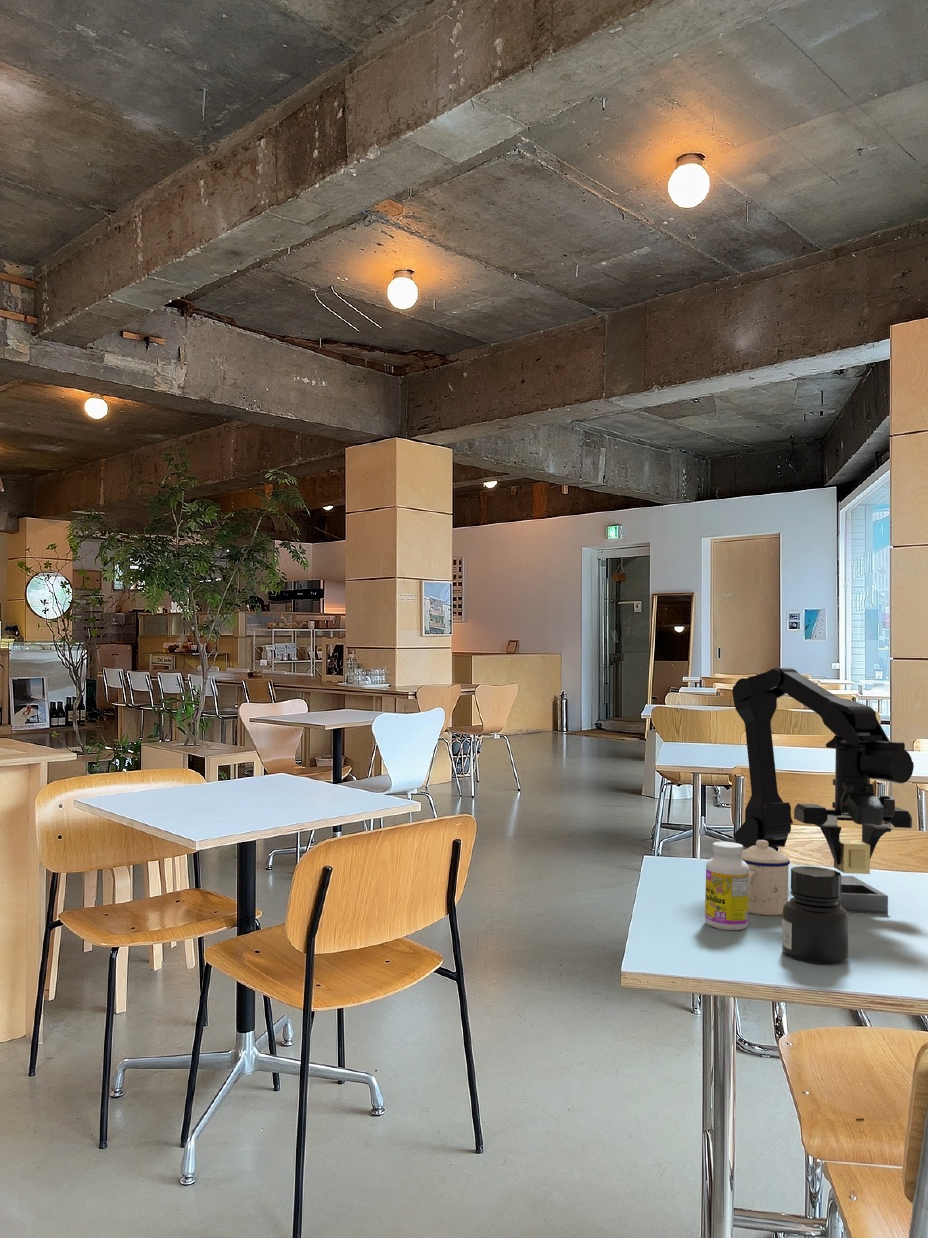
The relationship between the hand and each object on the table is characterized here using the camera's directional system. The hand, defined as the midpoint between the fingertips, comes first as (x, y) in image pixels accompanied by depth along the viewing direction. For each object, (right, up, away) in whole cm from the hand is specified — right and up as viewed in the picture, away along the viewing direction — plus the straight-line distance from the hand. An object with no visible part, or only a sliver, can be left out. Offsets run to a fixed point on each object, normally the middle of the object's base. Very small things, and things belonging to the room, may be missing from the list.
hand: (851, 865), depth 161 cm
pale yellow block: (0, -1, 0) cm, 1 cm away
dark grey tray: (0, -7, +3) cm, 8 cm away
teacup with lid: (-18, -7, -6) cm, 20 cm away
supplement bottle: (-27, -6, -16) cm, 31 cm away
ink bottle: (-18, -5, -30) cm, 35 cm away
